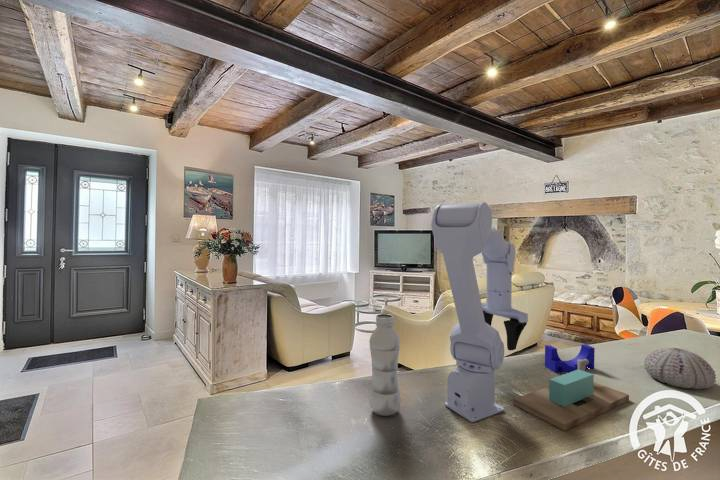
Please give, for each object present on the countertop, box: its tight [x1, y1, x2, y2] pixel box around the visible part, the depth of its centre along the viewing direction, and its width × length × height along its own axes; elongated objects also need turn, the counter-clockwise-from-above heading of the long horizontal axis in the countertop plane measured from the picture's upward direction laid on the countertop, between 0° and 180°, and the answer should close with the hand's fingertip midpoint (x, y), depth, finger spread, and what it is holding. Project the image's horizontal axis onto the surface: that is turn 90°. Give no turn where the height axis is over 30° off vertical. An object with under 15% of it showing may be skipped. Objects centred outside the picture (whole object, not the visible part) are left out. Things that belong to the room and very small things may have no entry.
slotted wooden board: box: [513, 359, 630, 431], centre depth 75 cm, size 25×11×6 cm, turn 119°
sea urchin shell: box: [643, 347, 717, 390], centre depth 85 cm, size 13×14×8 cm
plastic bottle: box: [369, 313, 401, 417], centre depth 71 cm, size 6×7×20 cm
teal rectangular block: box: [548, 369, 595, 407], centre depth 74 cm, size 11×3×4 cm, turn 119°
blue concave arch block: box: [544, 344, 596, 374], centre depth 93 cm, size 12×4×6 cm, turn 93°
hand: (498, 344), depth 84 cm, fingers open, 7 cm apart
